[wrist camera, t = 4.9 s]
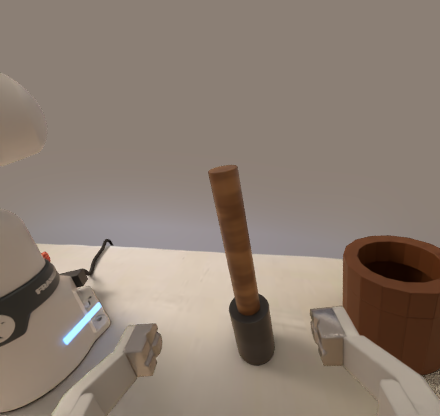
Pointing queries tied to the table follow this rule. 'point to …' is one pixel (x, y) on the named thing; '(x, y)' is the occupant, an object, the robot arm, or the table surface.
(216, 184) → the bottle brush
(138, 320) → the table surface
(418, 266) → the cylindrical container
